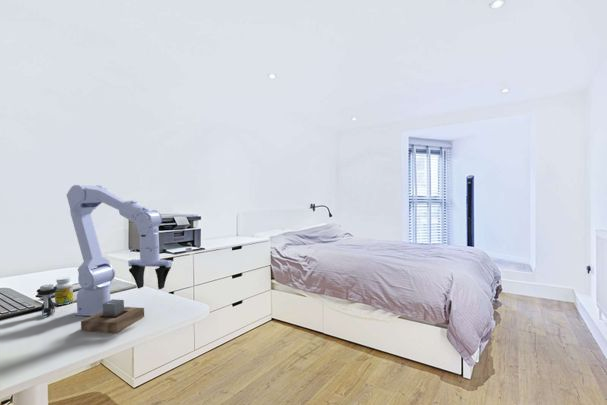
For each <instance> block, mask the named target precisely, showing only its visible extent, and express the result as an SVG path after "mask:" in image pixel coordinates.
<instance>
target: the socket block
mask: <svg viewBox="0 0 607 405" xmlns="http://www.w3.org/2000/svg"><path fill="white" fill-rule="evenodd" d="M143 318H145V307H135V306H133V307H131V306H124V314H123V315H121V316H119V317H117V318H103V311H101V312H99V313H97V314H95V315H92V316H87V317H86V318H85V319H82V320H80V331H81V332H91V333H92V332H93V333H108V334H118V333H120V332H121V331H123V330H125V329H126V328H128V327H130V326H131V325H134V324H135V323H137V322H138V321H140V320H142V319H143Z"/></svg>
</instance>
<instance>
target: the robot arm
mask: <svg viewBox="0 0 607 405" xmlns="http://www.w3.org/2000/svg"><path fill="white" fill-rule="evenodd" d="M66 198H67V202H68V205H69V212H70V216H71V220H72V224H73V227H74V230H75V231H74V232H75V235H76V237H77V243H78V245H79V248H80V253H81V256H82V260H83V262H82V263H81V264H80V265H79V267H78V268H77V272H78V278H77V279H78V283H79V286H80V288H79V290H78V291H77V294H76V310H77V311H76V313H74V315H75V316H84V317H85V316H86V317H90V316H92V315H95V314H97V313H99V312H101V311H103V304H104V303H106V302H108V301H110V300H111V286H110V285H111V284H112V281H113V280H114V279H115V276H116V270H115V269H114V267H113V266H112V265H111V262H110V259H108V258H106V257H104V256H103V254H102V250H101V248H100V244H99V241H98V236H97V232H96V230H95V226H94V222H93V219H92V218H93V217H92V213H93V211H94V210H96V209H97V208H98V207H99V206H100V205H101V204H104V205H107V206H109V207H112V208H114V209H115V210H118V212H119V216H121V217H123V218H125V219H126V220H129V221H130V222H132V223H134V226H135V227H136V228H137V233H138V235H139V259H138V258H137V259H130V260H128V261H127V262H128V263H127V264H128V267H130V268H129V269H128V272H129V273H130V274H131V276H132V277H133V279H134V282H135V284H136V285H135V286H136V288H137V289H139V290H140V289H141V288H144V285H145V282H144V280H145V278H144V276H145V270H146V267H151V268H153V267H155V269H154V270H155V275H156V278H157V288H158V290H162V289H164V288H165V284H166V280H167V277H168V274H169V272H170V270H172V266H173V263H172V260H170V259H169V260H168V259H163V258H160V238H159V237H160V235H159V234H160V232H159V230H160V229H159V227H160V226H161V225H162V222H163V216H162V214H161V213H159V212H158V211H157V210H149V207H146V206H142V205H140V204H138V203H137V202H138V201H136V200H135V199H134V200H133V199H132V200H126V201H125V200H123V199H122V198H121V197H119V196H117V195H115V194H114V193H112V192H110V190H108V189H107V188H106V187H103V186H102V185H80V184H74V185H72V186H71V187H70V188H69V190H68V191H67V193H66Z"/></svg>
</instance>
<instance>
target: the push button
mask: <svg viewBox="0 0 607 405" xmlns="http://www.w3.org/2000/svg"><path fill="white" fill-rule="evenodd" d="M56 289H57V287H55V285H54V284H51V283H49V284H44V285H41V286H40V287H39V288H38V289H37V290H36V293H37V295H38V296H40V297H43V302H42V304H41V309H42V310H41V317H42V319H45V318H49V317H50V316H51V315H54V314H55V312H56V310H55V309H56V308H55V306H56V304H54V302H53V300H52V295H55V292H56Z"/></svg>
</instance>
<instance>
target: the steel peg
mask: <svg viewBox="0 0 607 405" xmlns="http://www.w3.org/2000/svg"><path fill="white" fill-rule="evenodd" d="M124 307H125V300H124V299H110V301H108V302H106V303H104V304H103V318H117V317H119V316H121V315H123V314H124Z"/></svg>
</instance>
